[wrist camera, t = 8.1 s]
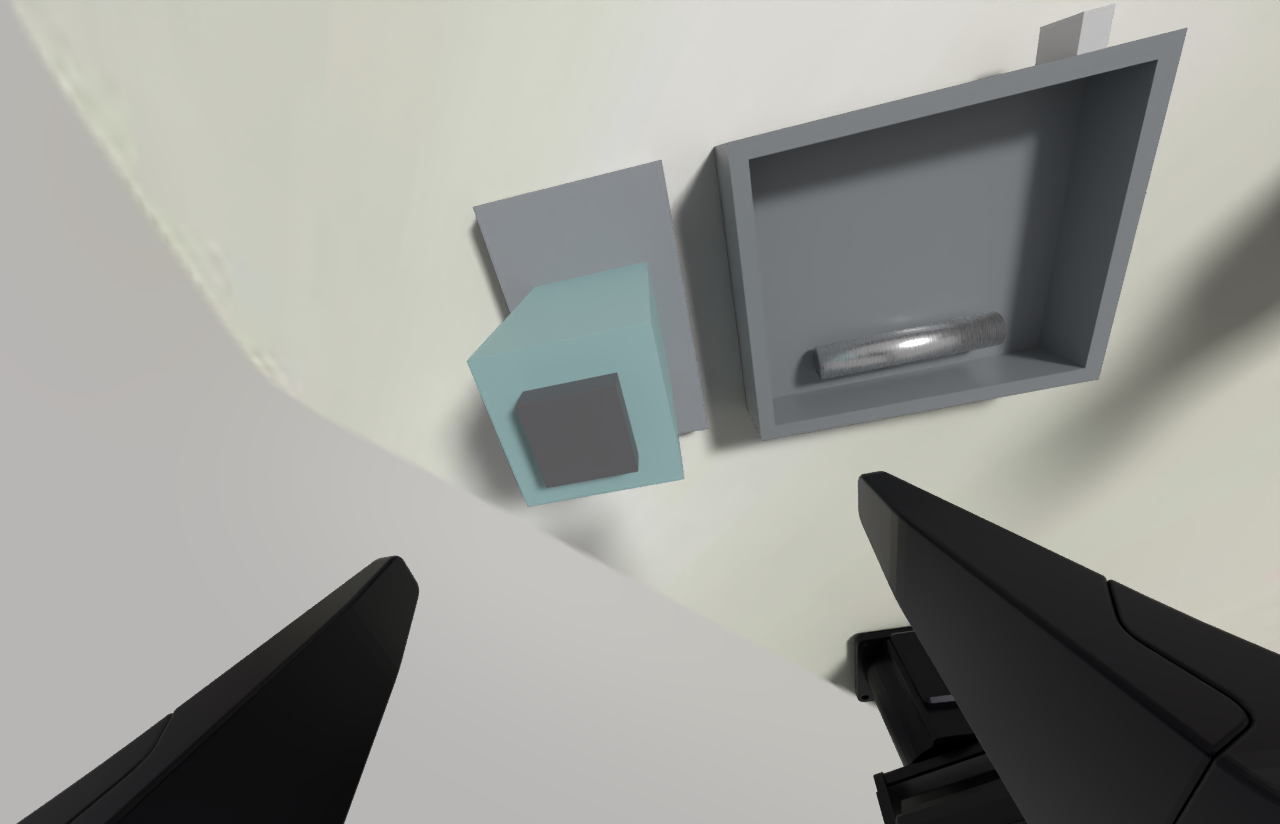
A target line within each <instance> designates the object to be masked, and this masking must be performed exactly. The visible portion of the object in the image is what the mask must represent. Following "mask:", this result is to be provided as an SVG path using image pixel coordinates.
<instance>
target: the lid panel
mask: <svg viewBox="0 0 1280 824" xmlns="http://www.w3.org/2000/svg"><path fill="white" fill-rule="evenodd" d="M473 210H474V212H475V215H476V218H477V221H478V224H479V227H480V229H481V232H482V235H483V238H484V241H485V243H486V246H487V249H488V252H489V255H490V258H491V260H492V263H493V266H494V269H495V272H496V275H497V277H498V280H499V283H500V286H501V289H502V291H503V294H504V297H505V300H506V303H507V306H508V308H509V311H510V313H511V312H512V311H513V310H514V309H515V308H516V307H517V306H518V305H519V304H520V303H521V301H522V300H523V299H524V298H525V297H526V296H527V295H528V294H529V293H530V292H531V291H532V290H533V288H534V287H537V286H541V285H546V284H550V283H554V282H559V281H563V280H568V279H572V278H576V277H581V276H585V275H590V274H594V273H598V272H603V271H607V270H612V269H616V268H620V267H625V266H629V265H633V264H638V263H642V262H647V263H648V268H649V273H650V278H651V283H652V288H653V292H654V297H655V302H656V307H657V312H658V317H659V322H660V326H661V331H662V336H663V341H664V346H665V351H666V356H667V360H668V365H669V371H670V378H671V385H672V393H673V400H674V407H675V414H676V421H677V429H678V434H682V433H688V432H693V431H698V430H704V429H709V428H708V423H707V417H706V411H705V405H704V400H703V394H702V388H701V383H700V377H699V371H698V365H697V360H696V354H695V348H694V343H693V337H692V331H691V326H690V320H689V314H688V308H687V303H686V297H685V291H684V286H683V280H682V274H681V269H680V263H679V257H678V251H677V246H676V240H675V234H674V229H673V223H672V217H671V211H670V206H669V200H668V194H667V189H666V183H665V177H664V172H663V166H662V160H659V161H655V162H651V163H647V164H643V165H639V166H635V167H631V168H627V169H623V170H619V171H615V172H611V173H607V174H603V175H599V176H595V177H591V178H587V179H583V180H579V181H575V182H571V183H567V184H563V185H559V186H555V187H551V188H547V189H543V190H539V191H535V192H531V193H527V194H523V195H519V196H515V197H511V198H507V199H503V200H499V201H495V202H491V203H487V204H483V205H479V206H475V207H473Z"/></svg>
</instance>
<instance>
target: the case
mask: <svg viewBox="0 0 1280 824" xmlns="http://www.w3.org/2000/svg"><path fill="white" fill-rule="evenodd" d="M1114 9H1115V4H1112V5H1108V6H1104V7H1100V8H1097V9H1093V10H1089V11H1085V12H1082V13H1079V14H1076V15H1074V16H1071V17H1068V18H1065V19H1063V20H1060V21H1057V22H1054V23H1051V24H1049V25H1046V26H1043V27H1040V35H1039V42H1038V49H1037V56H1036V64H1035V66H1032V67H1028V68H1024V69H1020V70H1016V71H1012V72H1008V73H1004V74H1000V75H996V76H992V77H988V78H984V79H980V80H976V81H972V82H968V83H964V84H960V85H956V86H952V87H948V88H944V89H940V90H936V91H932V92H928V93H924V94H920V95H916V96H912V97H908V98H904V99H900V100H896V101H892V102H888V103H884V104H880V105H876V106H872V107H868V108H864V109H860V110H856V111H852V112H848V113H844V114H840V115H836V116H832V117H828V118H824V119H820V120H816V121H812V122H808V123H804V124H800V125H796V126H792V127H788V128H784V129H780V130H776V131H772V132H768V133H764V134H760V135H756V136H752V137H748V138H744V139H740V140H736V141H732V142H728V143H725V144H722V145H719V146H716V147H714V153H715V161H716V169H717V177H718V184H719V192H720V200H721V208H722V216H723V223H724V231H725V239H726V247H727V255H728V262H729V270H730V278H731V286H732V293H733V301H734V309H735V317H736V325H737V332H738V340H739V348H740V356H741V364H742V371H743V379H744V387H745V395H746V402H747V409H748V411H749V413H750V416H751V418H752V420H753V422H754V425H755V427H756V429H757V431H758V434H759V436H760V438H761V440H762V441H764V440H770V439H775V438H781V437H786V436H792V435H797V434H802V433H808V432H813V431H819V430H824V429H830V428H835V427H841V426H846V425H852V424H857V423H863V422H868V421H874V420H879V419H885V418H890V417H895V416H901V415H906V414H912V413H917V412H923V411H928V410H934V409H939V408H945V407H950V406H956V405H961V404H967V403H972V402H977V401H983V400H988V399H994V398H999V397H1005V396H1010V395H1016V394H1021V393H1027V392H1032V391H1038V390H1043V389H1049V388H1054V387H1060V386H1065V385H1070V384H1076V383H1081V382H1087V381H1092V380H1098V379H1099V376H1100V372H1101V368H1102V364H1103V360H1104V356H1105V352H1106V348H1107V344H1108V340H1109V336H1110V332H1111V328H1112V324H1113V320H1114V316H1115V312H1116V308H1117V304H1118V300H1119V297H1120V293H1121V289H1122V285H1123V281H1124V277H1125V273H1126V269H1127V265H1128V261H1129V257H1130V253H1131V249H1132V245H1133V241H1134V237H1135V233H1136V229H1137V225H1138V222H1139V218H1140V214H1141V210H1142V206H1143V202H1144V198H1145V194H1146V190H1147V186H1148V182H1149V178H1150V174H1151V170H1152V166H1153V162H1154V158H1155V154H1156V150H1157V146H1158V143H1159V139H1160V135H1161V131H1162V127H1163V123H1164V119H1165V115H1166V111H1167V107H1168V103H1169V99H1170V95H1171V91H1172V87H1173V83H1174V79H1175V75H1176V71H1177V67H1178V64H1179V60H1180V56H1181V52H1182V48H1183V44H1184V40H1185V36H1186V32H1187V28H1184V29H1180V30H1176V31H1172V32H1168V33H1164V34H1160V35H1156V36H1152V37H1148V38H1144V39H1140V40H1136V41H1132V42H1128V43H1124V44H1120V45H1116V46H1112V47H1108V48H1107V45H1108V40H1109V35H1110V29H1111V24H1112V19H1113V14H1114ZM991 311H995V312H998V313H999V314H1000V315H1001V316H1002V317H1003V319H1004V321H1005V324H1006V337H1005V339H1004V341H1003V342H1002V343H1001V344H1000V345H997V346H992V347H987V348H982V349H976V350H971V351H966V352H961V353H956V354H951V355H945V356H940V357H935V358H930V359H925V360H920V361H915V362H909V363H904V364H899V365H894V366H889V367H884V368H878V369H873V370H868V371H863V372H858V373H853V374H848V375H842V376H837V377H832V378H827V379H820V378H819V377H818V375H817V372H816V369H815V365H814V357H813V352H814V348H815V347H817V346H822V345H827V344H832V343H837V342H842V341H847V340H852V339H857V338H862V337H867V336H872V335H877V334H882V333H887V332H892V331H897V330H902V329H907V328H912V327H916V326H921V325H926V324H931V323H936V322H941V321H946V320H951V319H956V318H961V317H966V316H971V315H976V314H981V313H986V312H991Z"/></svg>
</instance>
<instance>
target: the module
mask: <svg viewBox="0 0 1280 824" xmlns="http://www.w3.org/2000/svg"><path fill="white" fill-rule="evenodd" d="M467 363H468V366H469V368H470V370H471V373H472V375H473V378H474V380H475V382H476V385H477V387H478V389H479V392H480V394H481V397H482V399H483V401H484V404H485V406H486V409H487V411H488V413H489V416H490V418H491V421H492V423H493V425H494V428H495V430H496V433H497V435H498V437H499V440H500V442H501V445H502V447H503V449H504V452H505V454H506V457H507V459H508V461H509V464H510V466H511V468H512V471H513V473H514V476H515V478H516V480H517V483H518V485H519V488H520V490H521V492H522V495H523V497H524V500H525V502H526V504H527V507H530V506H536V505H541V504H547V503H553V502H558V501H564V500H569V499H575V498H581V497H586V496H592V495H598V494H603V493H609V492H615V491H620V490H626V489H632V488H637V487H643V486H648V485H654V484H660V483H665V482H671V481H677V480H682V479H684V472H683V465H682V457H681V450H680V443H679V436H678V429H677V421H676V414H675V407H674V400H673V393H672V385H671V378H670V371H669V365H668V360H667V356H666V351H665V346H664V341H663V336H662V331H661V326H660V322H659V317H658V312H657V307H656V302H655V297H654V292H653V288H652V283H651V278H650V273H649V268H648V263H647V262H642V263H638V264H633V265H629V266H625V267H620V268H616V269H612V270H607V271H603V272H598V273H594V274H590V275H585V276H581V277H576V278H572V279H568V280H563V281H559V282H554V283H550V284H546V285H541V286H537V287H534V288H533V290H532V291H531V292H530V293H529V294H528V295H527V296H526V297H525V298H524V299H523V300H522V301H521V303H520V304H519V305H518V306H517V307H516V308H515V309H514V310H513V311H512V312H511V313H510V315H509V316H508V317H507V318H506V319H505V320H504V321H503V322H502V323H501V324H500V325H499V326H498V328H497V329H496V330H495V331H494V332H493V333H492V334H491V335H490V336H489V337H488V338H487V340H486V341H485V342H484V343H483V344H482V345H481V346H480V347H479V348H478V349H477V350H476V351H475V353H474V354H473V355H472V356H471V357H470V358H469V359H468V360H467Z"/></svg>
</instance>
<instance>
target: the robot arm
mask: <svg viewBox="0 0 1280 824" xmlns="http://www.w3.org/2000/svg"><path fill="white" fill-rule="evenodd" d="M858 511H859V517H860V520H861V523H862V525H863V528H864V530H865V532H866V534H867V537H868V539H869V541H870V543H871V545H872V548H873V550H874V552H875V554H876V557H877V559H878V561H879V563H880V566H881V568H882V570H883V572H884V575H885V577H886V579H887V581H888V584H889V586H890V588H891V590H892V592H893V594H894V596H895V599H896V600H897V602H898V604H899V606H900V608H901V609H902V611H903V613H904V615H905V616H906V618H907V620H908V621H909V623H910V625H911V627H912V628H904V629H897V630H890V631H882V632H875V633H868V634H862V635H859V636H857V637H856V638H855V693H856V695H857V698H858V700H859V701H861V702H868V701H875V702H876V704H877V707H878V709H879V711H880V713H881V716H882V718H883V720H884V722H885V725H886V727H887V729H888V732H889V734H890V736H891V738H892V740H893V743H894V745H895V747H896V750H897V752H898V754H899V757H900V759H901V761H902V763H903V766H904V767H902V768H899V769H896V770H893V771H890V772H887V773H883V772H881V773H878V774H875V775H874V780H875V784H876V787H877V792H876V794H877V798H878V801H879V805H880V809H881V812H882V816H883V820H884V823H885V824H1280V654H1277V653H1275V652H1273V651H1270V650H1268V649H1265V648H1263V647H1261V646H1258V645H1256V644H1254V643H1251V642H1249V641H1247V640H1244V639H1242V638H1240V637H1237V636H1235V635H1233V634H1230V633H1228V632H1226V631H1223V630H1221V629H1219V628H1216V627H1214V626H1212V625H1209V624H1207V623H1205V622H1202V621H1200V620H1198V619H1196V618H1193V617H1191V616H1189V615H1187V614H1185V613H1183V612H1180V611H1178V610H1176V609H1174V608H1172V607H1169V606H1167V605H1165V604H1163V603H1161V602H1159V601H1156V600H1154V599H1152V598H1150V597H1148V596H1145V595H1143V594H1141V593H1139V592H1137V591H1135V590H1133V589H1131V588H1129V587H1127V586H1124V585H1122V584H1120V583H1118V582H1116V581H1114V580H1108V581H1107V580H1106V578H1105V577H1104V576H1103V575H1101V574H1099V573H1097V572H1095V571H1093V570H1090V569H1088V568H1086V567H1084V566H1082V565H1080V564H1078V563H1076V562H1074V561H1072V560H1069V559H1067V558H1065V557H1063V556H1061V555H1059V554H1057V553H1055V552H1053V551H1051V550H1048V549H1046V548H1044V547H1042V546H1040V545H1038V544H1036V543H1034V542H1032V541H1030V540H1027V539H1025V538H1023V537H1021V536H1019V535H1017V534H1015V533H1013V532H1011V531H1009V530H1006V529H1004V528H1002V527H1000V526H998V525H996V524H994V523H992V522H990V521H988V520H985V519H983V518H981V517H979V516H977V515H975V514H973V513H971V512H969V511H967V510H964V509H962V508H960V507H958V506H956V505H954V504H952V503H950V502H948V501H946V500H943V499H941V498H939V497H937V496H935V495H933V494H931V493H929V492H927V491H925V490H922V489H920V488H918V487H916V486H914V485H912V484H910V483H908V482H906V481H904V480H901V479H899V478H897V477H895V476H893V475H891V474H889V473H887V472H884V471H878V472H872V473H867V474H862V475H861V476H860V477H859V479H858ZM418 596H419V587H418V583H417V581H416V580H415V578H414V577H413V575H412V573H411V572H410V570H409V568H408V567H407V565H406V564H405V562H404V560H403V559H402V558H401V557H399V556H389V557H384V558H379V559H377V560H375V561H374V562H372V563H371V564H370V565H368V566H367V567H365V568H364V569H363V570H361V571H360V572H359V573H357V574H356V575H355V576H353V577H352V578H351V579H349V580H348V581H347V582H345V583H344V584H343V585H341V586H340V587H339V588H337V589H336V590H335V591H333V592H332V593H331V594H329V595H328V596H327V597H325V598H324V599H323V600H321V601H320V602H319V603H318V604H316V605H315V606H313V607H312V608H311V609H309V610H308V611H306V612H305V613H304V614H303V615H301V616H300V617H299V618H297V619H296V620H294V621H293V622H292V623H290V624H289V625H288V626H286V627H285V628H284V629H282V630H281V631H280V632H278V633H277V634H276V635H274V636H273V637H272V638H270V639H269V640H268V641H266V642H265V643H264V644H262V645H261V646H260V647H258V648H257V649H256V650H254V651H253V652H252V653H250V654H249V655H248V656H246V657H245V658H244V659H243V660H241V661H240V662H238V663H237V664H236V665H234V666H233V667H231V669H229V670H228V671H226V672H225V673H224V674H222V675H221V676H219V677H218V678H217V679H215V680H214V681H213V682H211V683H210V684H209V685H208V686H206V687H205V688H203V689H202V690H201V691H199V692H198V693H197V694H195V695H194V696H193V697H191V698H190V699H189V700H187V701H186V702H185V703H183V704H182V705H181V706H179V707H178V708H177V709H176V710H175V711H174V713H171V714H168V715H167V716H166V717H164V718H163V719H162V720H160V721H159V722H158V723H156V724H155V725H154V726H152V727H151V728H150V729H148V730H147V731H146V732H145V733H143V734H142V735H140V736H139V737H137V738H136V739H135V740H133V741H132V742H131V743H129V744H128V745H127V746H125V747H124V748H122V749H121V750H120V751H118V752H117V753H116V754H114V755H113V756H112V757H110V758H109V759H107V760H106V761H105V762H104V763H102V764H101V765H99V766H98V767H96V768H95V769H94V770H92V771H91V772H89V773H88V774H87V775H85V776H84V777H82V778H81V779H79V780H78V781H77V782H76V783H74V784H72V785H71V786H70V787H68V788H67V789H65V790H64V791H62V792H61V793H60V794H58V795H57V796H55V797H54V798H53V799H51V800H50V801H48V802H47V803H45V804H44V805H43V806H41V807H40V808H38V809H37V810H35V811H34V812H33V813H31V814H30V815H28V816H27V817H25V818H24V819H22V820H21V821H20V822H18V823H17V824H344V822H345V820H346V817H347V814H348V811H349V809H350V806H351V803H352V800H353V797H354V795H355V792H356V789H357V786H358V784H359V781H360V778H361V775H362V773H363V770H364V767H365V764H366V761H367V758H368V756H369V753H370V750H371V747H372V745H373V742H374V739H375V736H376V734H377V731H378V728H379V725H380V723H381V720H382V717H383V714H384V712H385V709H386V706H387V703H388V700H389V698H390V695H391V692H392V689H393V687H394V684H395V681H396V678H397V675H398V672H399V669H400V665H401V662H402V658H403V654H404V650H405V646H406V643H407V639H408V635H409V631H410V627H411V623H412V620H413V616H414V612H415V608H416V604H417V600H418Z"/></svg>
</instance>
